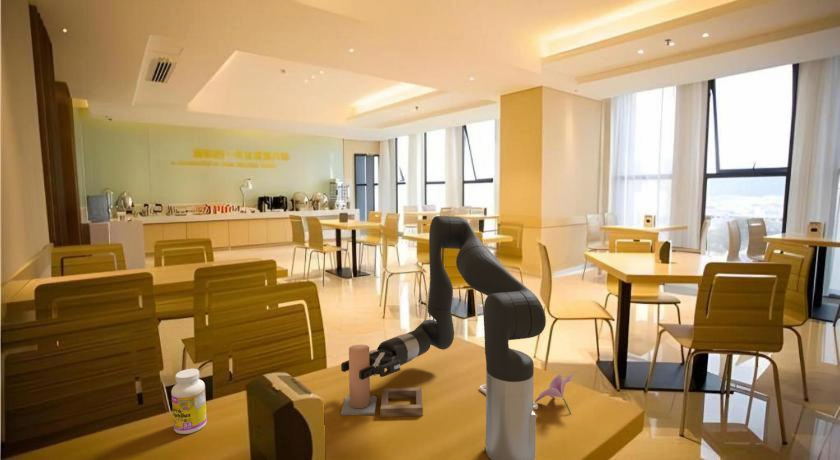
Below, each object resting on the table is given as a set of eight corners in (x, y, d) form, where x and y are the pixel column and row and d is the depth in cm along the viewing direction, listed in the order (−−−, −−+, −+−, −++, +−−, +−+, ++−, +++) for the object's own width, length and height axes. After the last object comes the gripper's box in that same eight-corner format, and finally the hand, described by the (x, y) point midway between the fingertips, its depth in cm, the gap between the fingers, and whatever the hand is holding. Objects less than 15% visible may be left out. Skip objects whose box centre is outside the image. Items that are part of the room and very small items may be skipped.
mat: (377, 397, 108) (377, 395, 108) (374, 414, 100) (374, 412, 100) (345, 398, 108) (345, 396, 108) (340, 415, 100) (340, 413, 100)
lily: (580, 401, 107) (563, 364, 110) (599, 407, 96) (580, 365, 99) (537, 419, 106) (521, 382, 108) (552, 427, 95) (534, 384, 97)
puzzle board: (421, 394, 109) (421, 387, 109) (422, 415, 99) (422, 407, 99) (383, 395, 109) (383, 388, 109) (380, 416, 99) (380, 408, 99)
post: (370, 398, 107) (370, 344, 106) (368, 408, 102) (368, 351, 101) (351, 399, 106) (350, 344, 106) (348, 408, 101) (347, 351, 101)
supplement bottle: (166, 432, 93) (162, 377, 92) (190, 417, 100) (187, 365, 98) (190, 437, 91) (186, 381, 90) (213, 421, 98) (210, 368, 96)
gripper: (380, 331, 118) (331, 349, 105) (418, 343, 109) (371, 364, 96) (380, 357, 119) (332, 377, 106) (419, 371, 109) (371, 396, 97)
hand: (351, 371), depth 101 cm, fingers open, 6 cm apart
